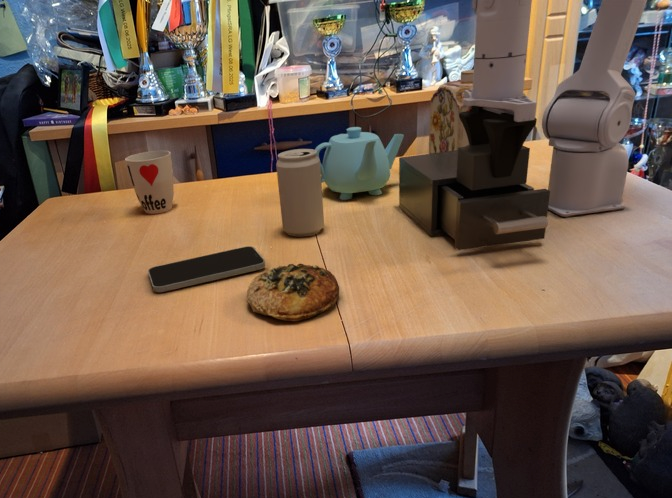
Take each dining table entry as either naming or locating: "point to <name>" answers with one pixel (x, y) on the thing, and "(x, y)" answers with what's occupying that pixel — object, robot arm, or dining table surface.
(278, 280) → the bread roll
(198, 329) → the dining table surface
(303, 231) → the beverage can
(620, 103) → the robot arm
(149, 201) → the cup
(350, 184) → the teapot
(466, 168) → the rectangular block
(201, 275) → the smartphone
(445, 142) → the decorative jar
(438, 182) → the small drawer cabinet
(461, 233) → the dark drawer box
